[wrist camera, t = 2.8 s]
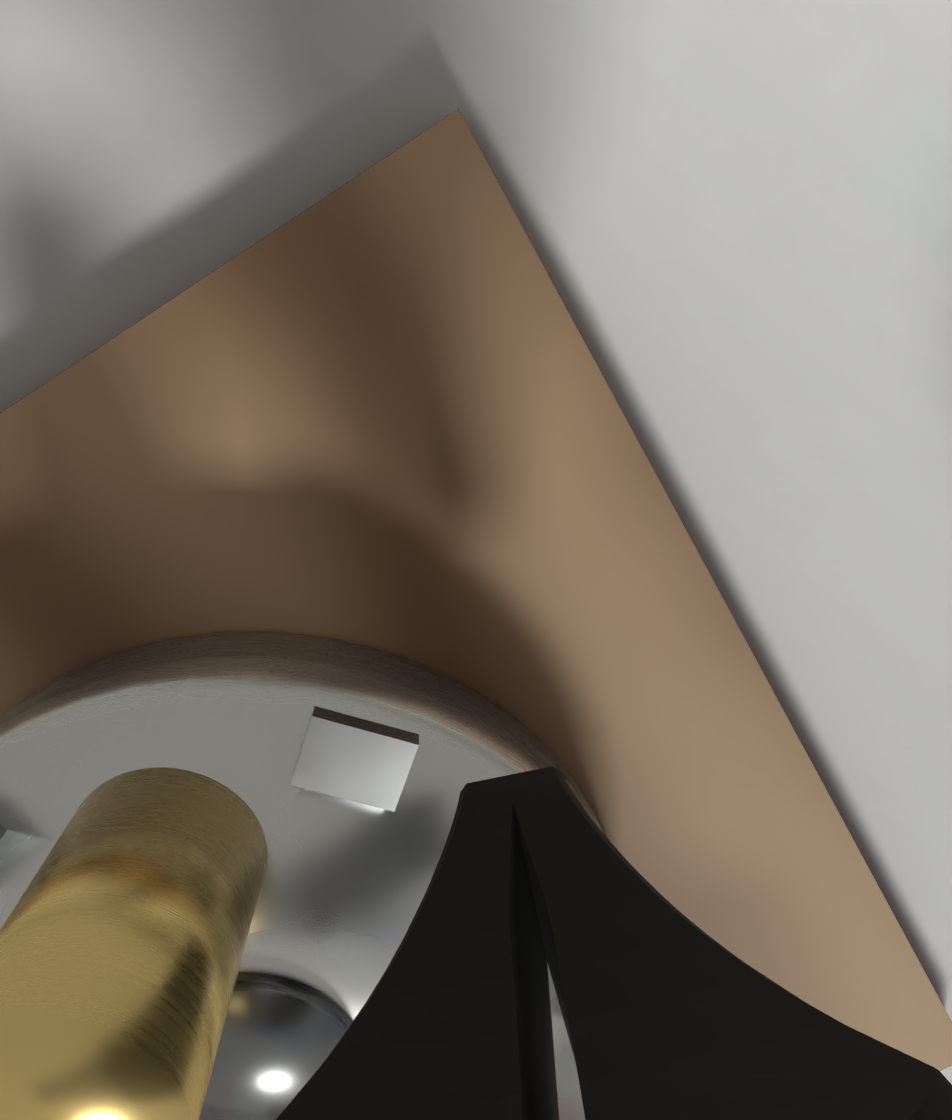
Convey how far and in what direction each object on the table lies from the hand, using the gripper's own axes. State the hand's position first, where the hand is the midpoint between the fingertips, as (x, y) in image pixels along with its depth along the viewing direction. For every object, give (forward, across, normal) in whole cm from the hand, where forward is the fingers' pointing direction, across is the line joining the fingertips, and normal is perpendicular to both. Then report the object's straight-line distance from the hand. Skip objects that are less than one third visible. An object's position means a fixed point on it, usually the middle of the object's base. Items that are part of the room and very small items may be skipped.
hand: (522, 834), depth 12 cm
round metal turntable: (+4, +5, +4) cm, 8 cm away
